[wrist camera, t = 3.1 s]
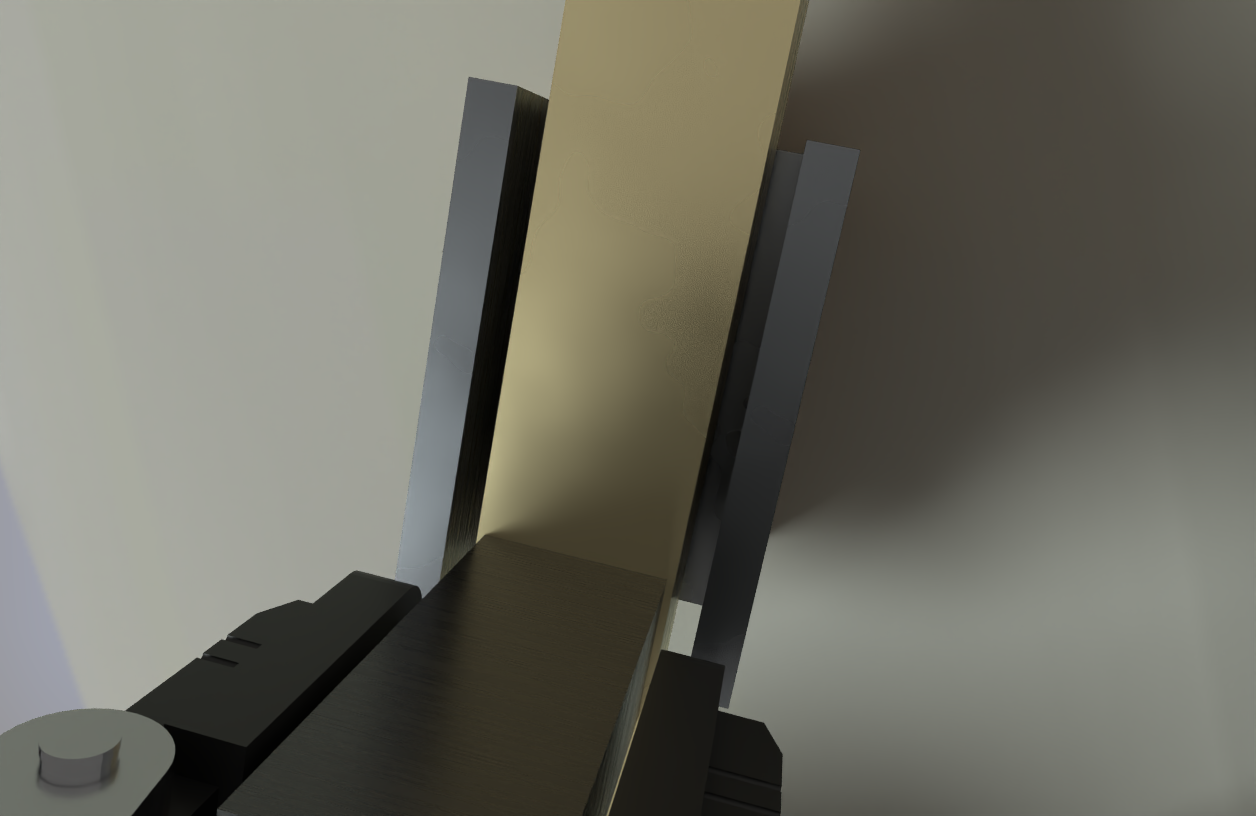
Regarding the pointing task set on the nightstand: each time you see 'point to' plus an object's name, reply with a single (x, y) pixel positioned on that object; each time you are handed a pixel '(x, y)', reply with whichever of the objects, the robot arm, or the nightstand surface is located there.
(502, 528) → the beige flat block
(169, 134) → the nightstand surface
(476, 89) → the sleeve
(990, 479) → the nightstand surface
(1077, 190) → the nightstand surface
